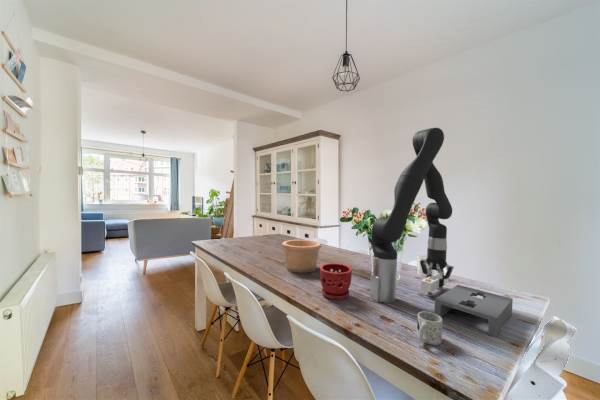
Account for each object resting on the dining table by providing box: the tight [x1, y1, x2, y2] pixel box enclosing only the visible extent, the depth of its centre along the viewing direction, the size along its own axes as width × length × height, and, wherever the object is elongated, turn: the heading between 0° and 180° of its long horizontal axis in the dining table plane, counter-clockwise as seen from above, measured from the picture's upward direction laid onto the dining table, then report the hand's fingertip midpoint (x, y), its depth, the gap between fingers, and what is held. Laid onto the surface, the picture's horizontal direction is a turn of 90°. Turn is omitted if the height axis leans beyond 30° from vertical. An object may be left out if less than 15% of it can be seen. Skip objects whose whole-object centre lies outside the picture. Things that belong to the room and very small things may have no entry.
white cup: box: [416, 254, 429, 278], centre depth 140 cm, size 8×8×10 cm
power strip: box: [420, 272, 449, 298], centre depth 115 cm, size 20×4×7 cm, turn 131°
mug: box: [416, 311, 443, 346], centre depth 76 cm, size 10×7×7 cm, turn 133°
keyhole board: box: [433, 284, 514, 338], centre depth 94 cm, size 24×18×6 cm
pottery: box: [281, 239, 322, 274], centre depth 145 cm, size 22×22×14 cm
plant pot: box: [319, 262, 353, 300], centre depth 108 cm, size 13×13×12 cm
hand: (435, 285), depth 115 cm, fingers closed on power strip, 4 cm apart
